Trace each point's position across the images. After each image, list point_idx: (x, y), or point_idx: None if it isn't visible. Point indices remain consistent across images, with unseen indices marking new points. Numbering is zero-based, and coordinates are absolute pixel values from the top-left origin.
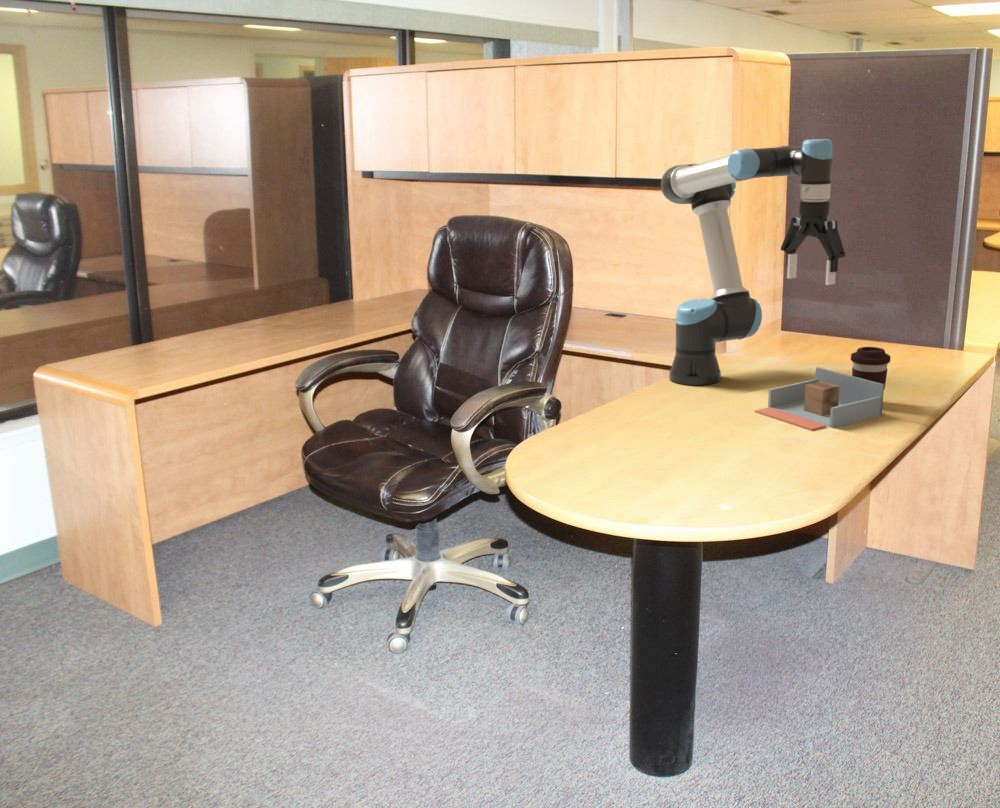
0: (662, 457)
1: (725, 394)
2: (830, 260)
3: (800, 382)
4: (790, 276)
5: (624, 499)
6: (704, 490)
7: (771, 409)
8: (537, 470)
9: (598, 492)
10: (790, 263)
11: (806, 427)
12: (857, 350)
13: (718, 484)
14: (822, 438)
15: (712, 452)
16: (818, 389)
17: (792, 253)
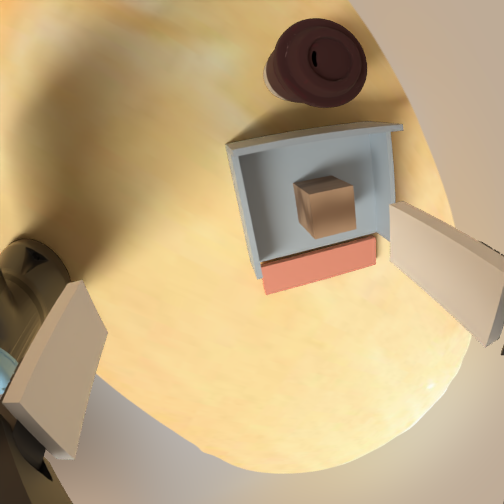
0: (336, 409)
1: (131, 278)
2: (500, 323)
3: (240, 199)
4: (100, 330)
5: (383, 430)
6: (406, 393)
7: (274, 270)
8: (306, 465)
9: (364, 441)
10: (82, 397)
11: (367, 266)
12: (313, 86)
13: (406, 383)
14: (388, 255)
15: (352, 375)
16: (346, 231)
17: (24, 430)
